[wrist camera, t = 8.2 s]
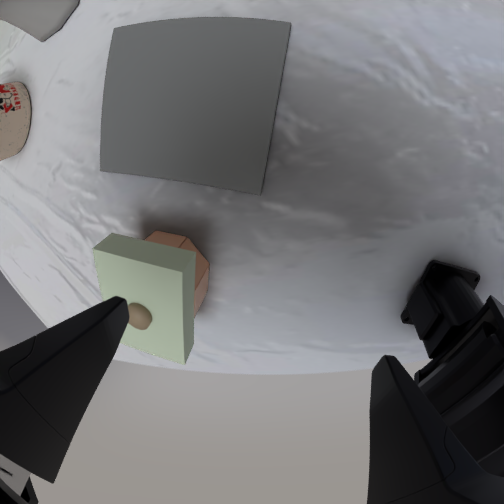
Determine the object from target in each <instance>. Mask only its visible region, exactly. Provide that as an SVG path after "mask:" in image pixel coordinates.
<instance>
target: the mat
mask: <svg viewBox="0 0 504 504" xmlns="http://www.w3.org/2000/svg"><path fill="white" fill-rule="evenodd" d="M290 29H291V23H289V22H282V21H275V20H266V19H254V18H238V17H196V18H179V19H168V20H159V21H152V22H145V23H139V24H133V25H127V26H122V27H118V28H114V30H113V35H112V40H111V45H110V50H109V56H108V62H107V69H106V76H105V84H104V93H103V104H102V118H101V140H100V171H103V172H112V173H121V174H130V175H138V176H146V177H153V178H161V179H168V180H175V181H181V182H188V183H194V184H200V185H206V186H212V187H218V188H224V189H229V190H235V191H240V192H245V193H251V194H256V195H261V192H262V186H263V181H264V175H265V169H266V164H267V158H268V152H269V147H270V141H271V135H272V130H273V124H274V119H275V113H276V107H277V102H278V96H279V91H280V85H281V79H282V74H283V68H284V63H285V57H286V51H287V46H288V40H289V35H290Z"/></svg>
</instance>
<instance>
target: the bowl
mask: <svg viewBox="0 0 504 504" xmlns="http://www.w3.org/2000/svg"><path fill="white" fill-rule="evenodd" d="M145 241H149V242H154V243H158V244H163V245H167V246H172V247H176V248H181V249H185V250H190V251H194V252H196V265H195V293H194V318H195V316H196V314H197V312H198V309H199V307H200V305H201V303H202V301H203V299H204V297H205V295H206V293H207V291H208V278H209V266H210V264H209V263H208V261H207V260H206V259H205V258H204V257H203V255H202V254H201V253H200V252H199V251H198V249H197V248H196V247H195V246H194V244H193V243H192V242H191V241H190V240H189V238H187V237H185V236H180V235H175V234H171V233H166V232H161V231H157V230H156V231H154V232H153V233H152V234H151V235H150V236H148V237H147V238H146V239H145Z"/></svg>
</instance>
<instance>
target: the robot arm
mask: <svg viewBox="0 0 504 504" xmlns="http://www.w3.org/2000/svg"><path fill="white" fill-rule="evenodd" d="M433 266H435V267H434V268H433ZM479 280H480V275H479V274H478V273H477V272H474V271H471V270H467V269H464V268H460V267H457V266H454V265H450V264H447V263H443V262H440V261H436V260H433V261H431V262H430V263H429V265H428V267H427V269H426V271H425V273H424V275H423V277H422V279H421V281H420V283H419V284H418V286H417V288H416V290H415V292H414V294H413V295H412V297H411V299H410V301H409V303H408V304H407V307H406V309H405V310H404V312H403V314H402V315H401V320H402V322H403V323H405V324H412V325H414V326H415V328H416V331H417V333H418V336H419V339H420V340H423V343H424V345H425V348H426V351H427V354H428V357H429V358H430V359H432V360H431V361H430V362H429V363H428V364H427V365H426V366H425V367H424V368H422V369H421V370H419V371H417V372H416V373H415V376H414V380H413V379H412V377H411V376H410V375H409V374H408V372H407V371H406V370H405V368H404V367H403V366H402V365H401V363H400V362H399V361H398V360H397V358H396V357H395V356H390V355H384V356H383V357H382V358H381V359H380V361H379V362H378V363H377V365H376V366H375V367H374V369H373V371H372V380H371V397H370V463H369V464H370V465H369V484H368V498H367V504H504V305H502V304H501V303H500V302H499V301H498V300H496V299H495V298H494V297H493V296H492V295H490V296H489V298H488V299H487V300H486V301H487V302H486V303H485V304H483V303H482V301H481V300H480V298H479V297H478V295H477V294H476V293H475V291H474V289H475V288H476V286H477V284H478V282H479ZM406 317H407V318H406ZM129 318H130V315H129V310H128V304H127V300H126V299H125V298H122V297H119V296H114V297H112V298H110V299H107V300H105V301H103V302H101V303H99V304H97V305H95V306H93V307H91V308H89V309H87V310H85V311H83V312H81V313H79V314H77V315H75V316H73V317H71V318H69V319H67V320H65V321H63V322H61V323H59V324H57V325H55V326H53V327H51V328H49V329H47V330H45V331H43V332H41V333H39V334H37V336H33V337H31V338H29V339H27V340H25V341H23V342H21V343H19V344H17V345H15V346H12V347H10V348H8V349H5V350H3V351H0V504H38V499H37V497H36V494H35V492H34V488H33V486H32V483H31V480H30V474H31V473H33V474H35V475H36V476H39V477H40V478H42V479H44V480H46V481H48V482H50V483H54V481H55V479H56V477H57V474H58V472H59V469H60V467H61V464H62V462H63V459H64V457H65V455H66V452H67V450H68V448H69V445H70V443H71V441H72V438H73V436H74V434H75V432H76V430H77V427H78V425H79V423H80V421H81V419H82V417H83V415H84V413H85V411H86V409H87V407H88V404H89V403H90V400H91V399H92V397H93V395H94V393H95V391H96V389H97V387H98V385H99V383H100V381H101V379H102V377H103V376H104V374H105V372H106V370H107V368H108V366H109V364H110V363H111V361H112V359H113V357H114V355H115V353H116V350H117V348H118V345H119V343H120V341H121V338H122V336H123V334H124V331H125V329H126V327H127V324H128V322H129Z"/></svg>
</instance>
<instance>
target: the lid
mask: <svg viewBox="0 0 504 504" xmlns="http://www.w3.org/2000/svg"><path fill="white" fill-rule="evenodd" d="M93 255H94V261H95V266H96V271H97V277H98V281H99V286H100V291H101V295H102V299H103V301H105V300H107V299H110V298H112V297H114V296H119V297H122V298H125V299H126V300H127V304H128V310H129V315H130V318H129V322H128V324H127V327H126V329H125V331H124V334H123V336H122V338H121V341H120V343H122V344H124V345H127V346H129V347H132V348H135V349H138V350H140V351H143V352H146V353H149V354H152V355H155V356H158V357H161V358H164V359H167V360H170V361H173V362H176V363H180V364H183V365H185V363H186V361H187V359H188V356H189V354H190V352H191V349H192V347H193V344H194V293H195V265H196V252H194V251H190V250H185V249H181V248H176V247H172V246H167V245H163V244H158V243H154V242H149V241H145V240H141V239H136V238H132V237H128V236H123V235H119V234H115V233H111V234H110V235H109V236H107V237H106V238H105V239H104V240H102V241H101V242H100V243H99V244H97V245H96V246H95V247H94V248H93Z"/></svg>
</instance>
